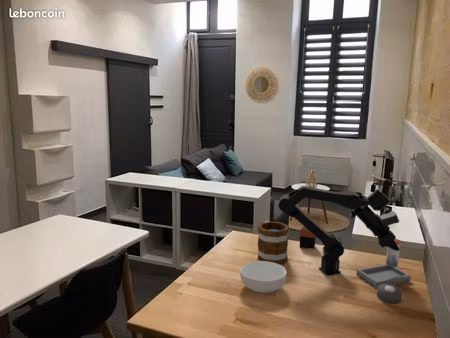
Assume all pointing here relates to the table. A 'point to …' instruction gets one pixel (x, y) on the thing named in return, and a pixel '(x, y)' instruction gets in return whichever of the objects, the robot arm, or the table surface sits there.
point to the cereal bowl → (263, 276)
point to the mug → (273, 242)
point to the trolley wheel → (389, 293)
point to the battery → (306, 238)
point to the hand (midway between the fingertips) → (397, 247)
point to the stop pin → (393, 255)
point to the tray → (383, 275)
